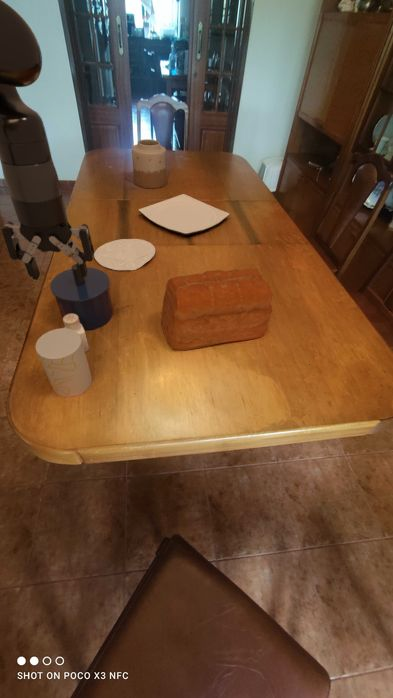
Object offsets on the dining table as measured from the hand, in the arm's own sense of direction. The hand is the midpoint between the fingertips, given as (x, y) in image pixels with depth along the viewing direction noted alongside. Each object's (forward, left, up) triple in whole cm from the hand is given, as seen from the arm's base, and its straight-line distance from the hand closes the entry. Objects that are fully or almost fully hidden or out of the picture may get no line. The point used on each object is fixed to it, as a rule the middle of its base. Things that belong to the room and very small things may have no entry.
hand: (60, 277), depth 62 cm
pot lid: (+4, +11, -10) cm, 16 cm away
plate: (+52, +56, -20) cm, 79 cm away
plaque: (+22, +37, -20) cm, 48 cm away
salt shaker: (0, 0, -20) cm, 20 cm away
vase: (+52, +96, -20) cm, 111 cm away
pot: (+4, +11, -20) cm, 23 cm away
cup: (-4, -10, -20) cm, 22 cm away
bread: (+33, -5, -20) cm, 39 cm away
